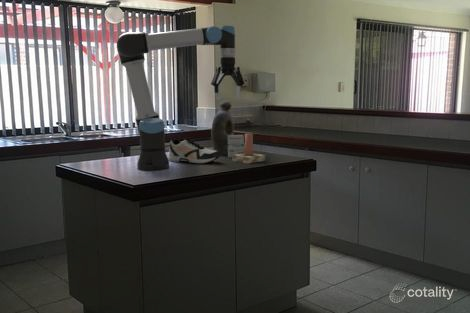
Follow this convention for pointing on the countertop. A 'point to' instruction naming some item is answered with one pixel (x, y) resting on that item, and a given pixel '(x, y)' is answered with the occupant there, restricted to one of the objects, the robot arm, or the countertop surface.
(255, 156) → the socket
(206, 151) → the running shoe
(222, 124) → the sculpture
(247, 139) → the peg
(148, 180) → the countertop surface
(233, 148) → the ink box
